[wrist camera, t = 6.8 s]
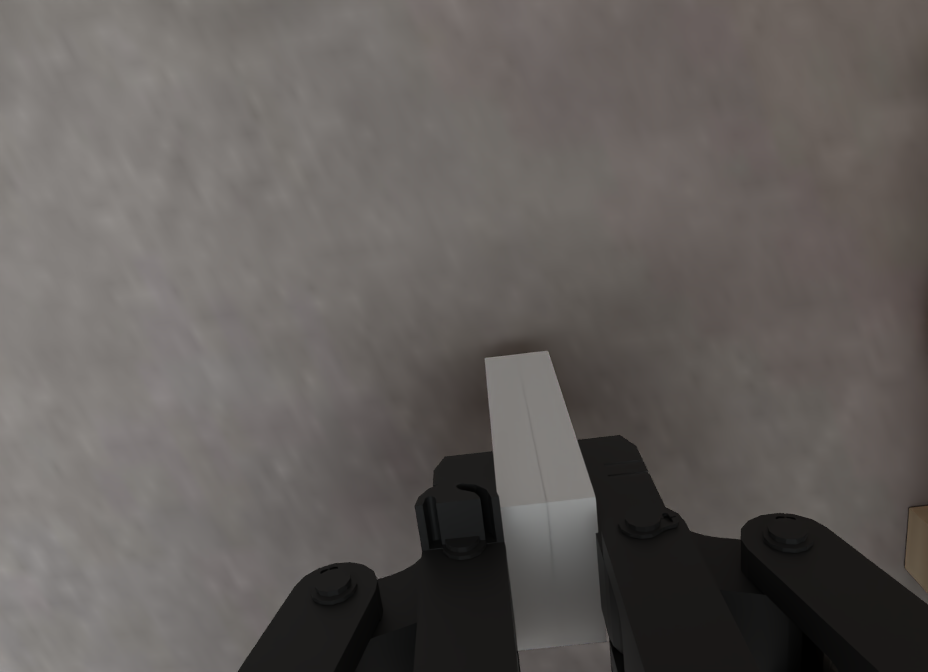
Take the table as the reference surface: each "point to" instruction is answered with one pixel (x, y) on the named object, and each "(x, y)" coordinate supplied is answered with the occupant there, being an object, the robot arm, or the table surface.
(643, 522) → the robot arm
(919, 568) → the bridge
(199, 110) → the table surface
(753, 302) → the table surface
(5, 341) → the table surface
